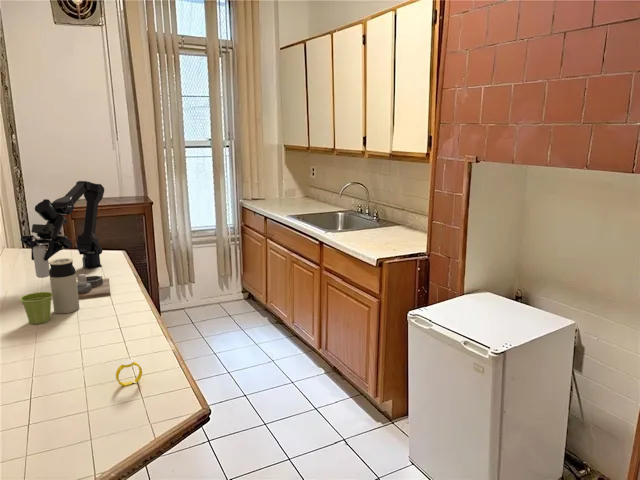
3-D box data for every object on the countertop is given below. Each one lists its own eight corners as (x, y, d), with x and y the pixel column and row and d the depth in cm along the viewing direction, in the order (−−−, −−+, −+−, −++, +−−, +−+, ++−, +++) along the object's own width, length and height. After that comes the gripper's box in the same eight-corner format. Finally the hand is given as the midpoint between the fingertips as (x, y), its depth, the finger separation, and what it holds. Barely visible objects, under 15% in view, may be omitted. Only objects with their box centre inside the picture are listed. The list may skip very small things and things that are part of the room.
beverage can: (45, 278, 186) (41, 248, 183) (33, 278, 186) (29, 248, 183) (52, 274, 191) (49, 245, 188) (41, 274, 191) (37, 245, 188)
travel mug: (84, 308, 169) (79, 259, 165) (64, 315, 162) (58, 264, 158) (69, 304, 172) (63, 256, 168) (48, 312, 165) (42, 262, 161)
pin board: (66, 285, 194) (64, 268, 192) (109, 280, 200) (107, 263, 199) (63, 300, 176) (61, 281, 174) (110, 295, 183) (108, 276, 181)
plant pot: (16, 324, 155) (12, 298, 153) (42, 314, 163) (39, 290, 161) (36, 328, 151) (33, 302, 149) (62, 318, 160) (59, 293, 158)
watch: (119, 390, 115) (115, 368, 114) (116, 385, 117) (112, 364, 116) (144, 381, 118) (140, 360, 117) (141, 377, 121) (137, 356, 119)
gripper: (20, 215, 188) (3, 248, 180) (64, 216, 186) (49, 250, 178) (36, 230, 197) (21, 263, 189) (78, 231, 195) (65, 264, 187)
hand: (38, 260), depth 185 cm, fingers closed on beverage can, 5 cm apart
